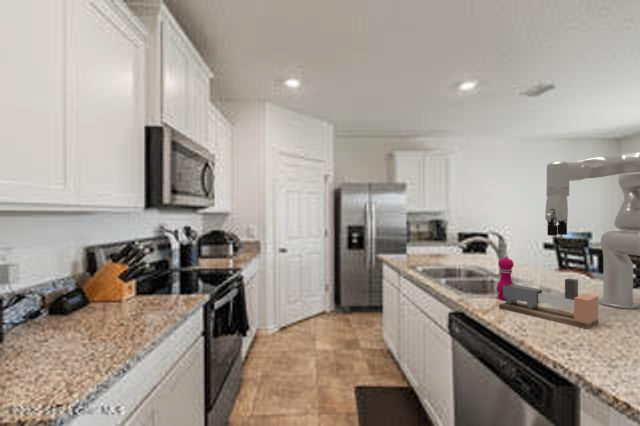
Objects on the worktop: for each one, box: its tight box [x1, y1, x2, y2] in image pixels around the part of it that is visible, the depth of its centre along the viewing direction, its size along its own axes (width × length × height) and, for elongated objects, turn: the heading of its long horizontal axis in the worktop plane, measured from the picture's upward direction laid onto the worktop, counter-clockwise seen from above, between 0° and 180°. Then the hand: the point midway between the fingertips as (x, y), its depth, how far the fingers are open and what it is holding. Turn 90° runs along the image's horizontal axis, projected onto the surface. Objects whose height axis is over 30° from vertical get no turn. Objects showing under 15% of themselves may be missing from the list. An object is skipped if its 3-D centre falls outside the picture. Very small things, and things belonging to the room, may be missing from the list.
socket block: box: [573, 293, 599, 324], centre depth 119 cm, size 10×4×8 cm, turn 125°
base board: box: [498, 301, 600, 329], centre depth 130 cm, size 11×30×2 cm, turn 35°
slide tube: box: [537, 278, 579, 310], centre depth 126 cm, size 3×19×10 cm, turn 35°
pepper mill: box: [496, 254, 515, 301], centre depth 153 cm, size 7×7×20 cm
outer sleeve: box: [503, 283, 543, 310], centre depth 137 cm, size 5×12×8 cm, turn 35°
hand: (557, 235), depth 137 cm, fingers open, 9 cm apart
